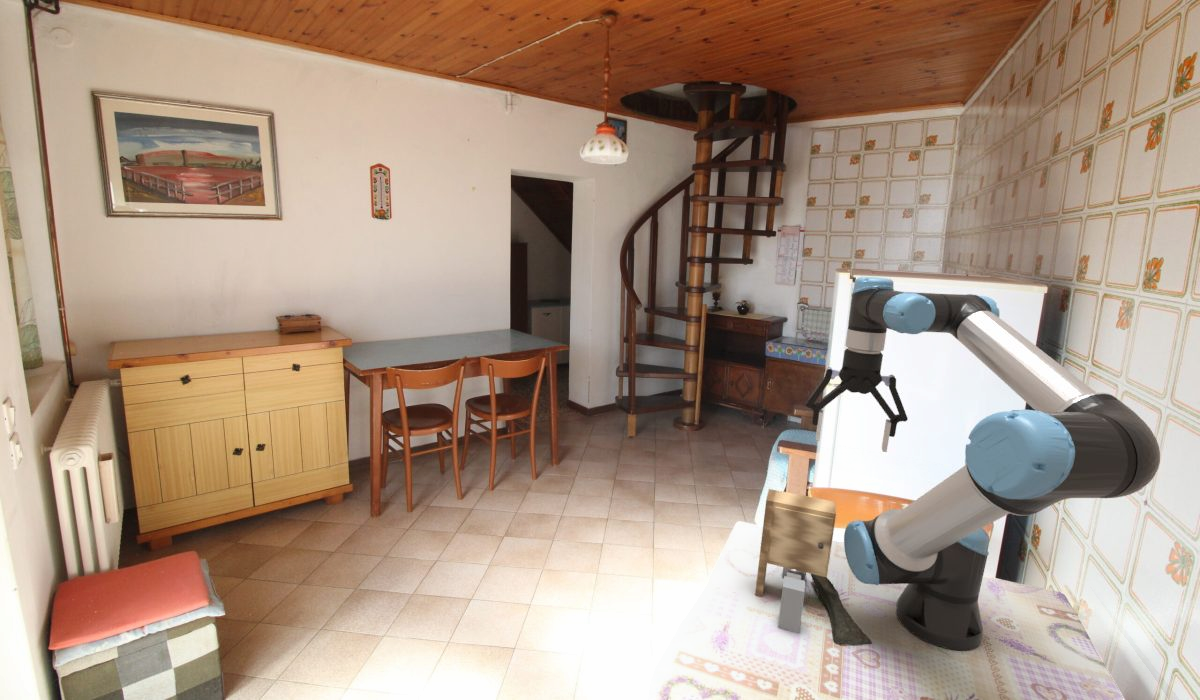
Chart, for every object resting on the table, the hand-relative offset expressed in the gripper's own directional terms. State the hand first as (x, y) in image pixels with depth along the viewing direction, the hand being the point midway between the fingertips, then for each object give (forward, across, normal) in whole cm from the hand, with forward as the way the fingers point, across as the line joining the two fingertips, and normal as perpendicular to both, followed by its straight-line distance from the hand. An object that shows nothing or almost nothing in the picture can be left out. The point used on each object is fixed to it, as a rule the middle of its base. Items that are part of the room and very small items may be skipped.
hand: (850, 444), depth 127 cm
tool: (+32, -1, +14) cm, 35 cm away
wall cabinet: (+32, +8, +13) cm, 35 cm away
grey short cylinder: (+32, +8, +5) cm, 33 cm away
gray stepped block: (+32, +8, +16) cm, 37 cm away
